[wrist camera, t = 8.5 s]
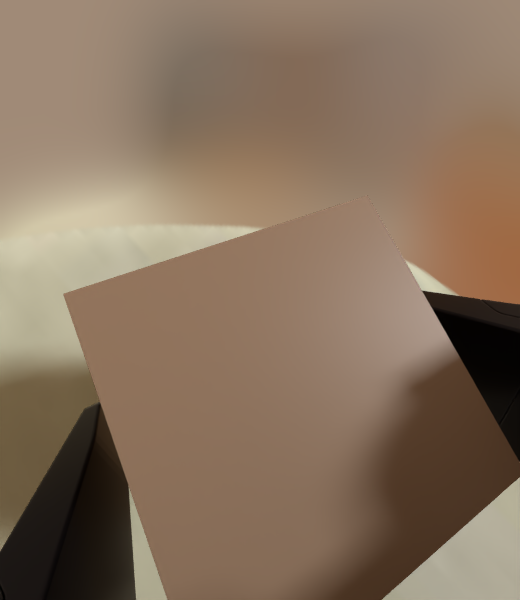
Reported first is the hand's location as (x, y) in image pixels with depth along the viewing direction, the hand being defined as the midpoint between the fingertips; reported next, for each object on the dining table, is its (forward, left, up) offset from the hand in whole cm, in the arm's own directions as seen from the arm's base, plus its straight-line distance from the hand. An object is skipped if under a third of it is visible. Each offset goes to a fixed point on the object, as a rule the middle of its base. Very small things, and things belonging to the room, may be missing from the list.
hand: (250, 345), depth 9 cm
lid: (-1, -1, -1) cm, 2 cm away
